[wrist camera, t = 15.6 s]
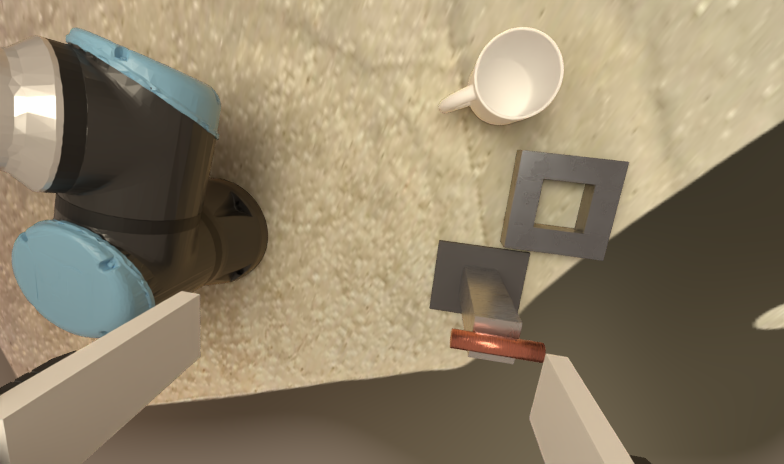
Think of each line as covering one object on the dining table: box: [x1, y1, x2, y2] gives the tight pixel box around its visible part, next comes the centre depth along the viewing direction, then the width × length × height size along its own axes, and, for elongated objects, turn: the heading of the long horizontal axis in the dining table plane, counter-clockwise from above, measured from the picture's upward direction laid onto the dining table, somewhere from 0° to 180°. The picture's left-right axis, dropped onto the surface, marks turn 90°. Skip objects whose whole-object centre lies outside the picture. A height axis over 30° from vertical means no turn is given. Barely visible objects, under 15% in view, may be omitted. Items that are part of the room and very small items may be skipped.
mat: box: [430, 240, 530, 313], centre depth 50 cm, size 12×10×1 cm
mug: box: [438, 27, 564, 125], centre depth 40 cm, size 12×8×10 cm
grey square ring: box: [500, 150, 629, 261], centre depth 45 cm, size 12×12×3 cm
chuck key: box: [450, 265, 545, 364], centre depth 41 cm, size 8×4×17 cm, turn 84°
